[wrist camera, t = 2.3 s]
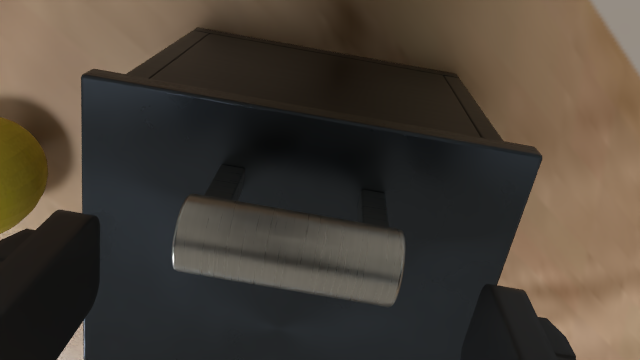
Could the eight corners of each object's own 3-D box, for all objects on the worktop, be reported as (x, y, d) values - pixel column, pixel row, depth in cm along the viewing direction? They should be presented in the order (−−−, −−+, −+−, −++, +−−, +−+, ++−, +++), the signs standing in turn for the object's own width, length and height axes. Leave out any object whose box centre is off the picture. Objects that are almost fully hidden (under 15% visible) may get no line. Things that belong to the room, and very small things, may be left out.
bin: (196, 27, 27) (92, 94, 16) (457, 73, 27) (526, 170, 16) (178, 265, 32) (92, 434, 22) (394, 302, 33) (415, 487, 22)
